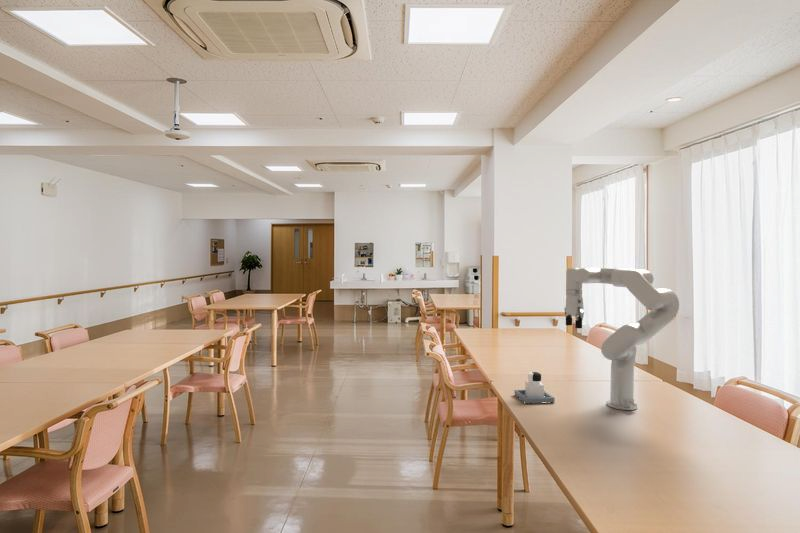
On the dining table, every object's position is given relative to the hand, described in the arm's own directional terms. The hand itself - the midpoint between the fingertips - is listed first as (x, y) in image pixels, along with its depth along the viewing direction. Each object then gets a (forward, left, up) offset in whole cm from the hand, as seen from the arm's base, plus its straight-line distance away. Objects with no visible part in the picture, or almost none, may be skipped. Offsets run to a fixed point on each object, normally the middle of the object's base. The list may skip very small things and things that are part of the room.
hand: (573, 326), depth 227 cm
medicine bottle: (-8, +24, -33) cm, 41 cm away
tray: (-8, +24, -33) cm, 42 cm away
